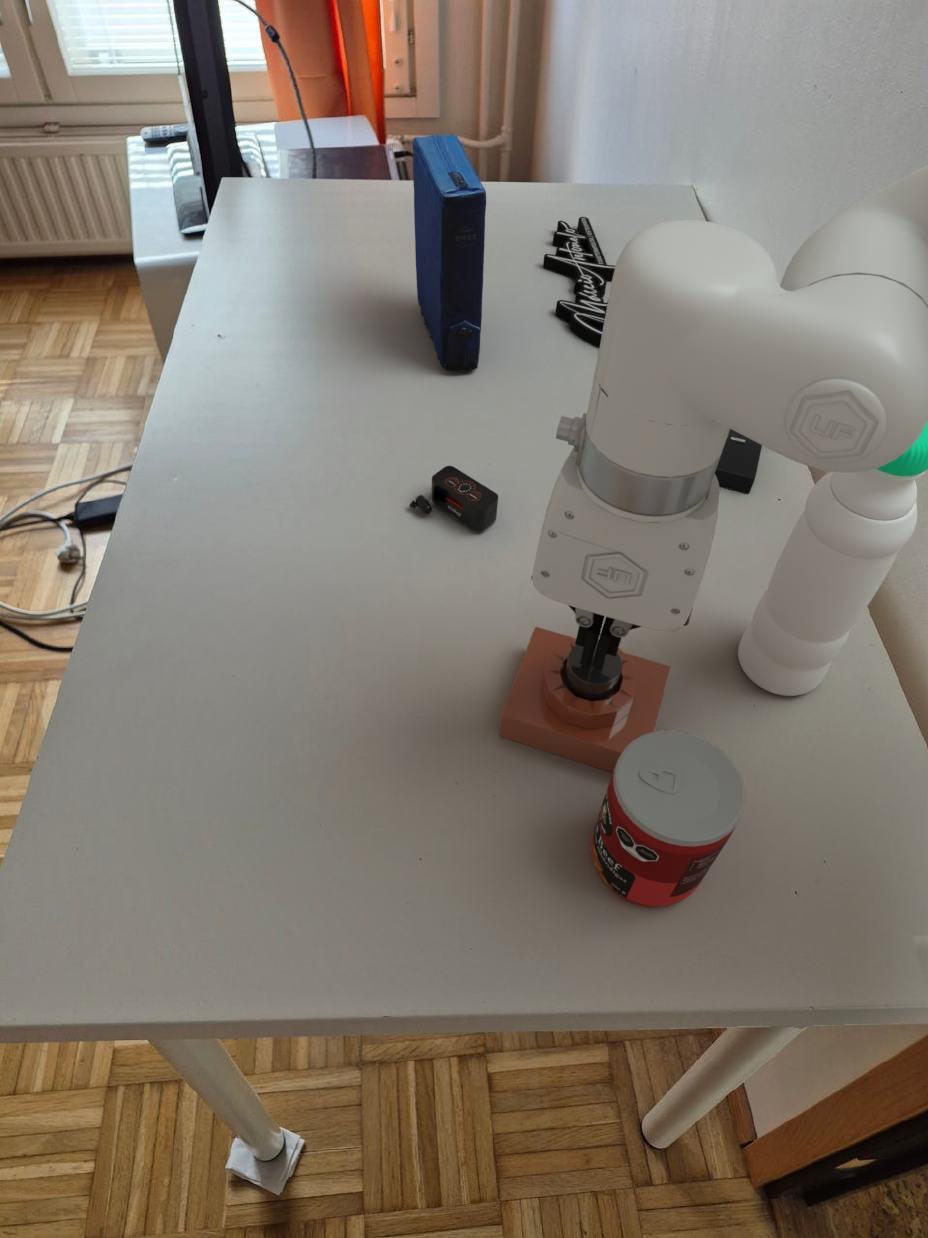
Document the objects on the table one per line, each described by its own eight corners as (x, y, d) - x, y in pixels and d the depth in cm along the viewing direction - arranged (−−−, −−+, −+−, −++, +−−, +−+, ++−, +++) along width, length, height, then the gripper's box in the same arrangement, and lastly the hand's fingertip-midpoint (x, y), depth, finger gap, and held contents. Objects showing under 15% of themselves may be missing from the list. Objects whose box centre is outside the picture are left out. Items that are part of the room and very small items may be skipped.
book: (485, 374, 96) (497, 190, 81) (438, 380, 95) (440, 195, 80) (455, 301, 105) (460, 122, 89) (411, 306, 104) (408, 126, 88)
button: (622, 665, 67) (627, 649, 65) (610, 707, 65) (615, 691, 63) (571, 650, 68) (575, 633, 66) (558, 690, 65) (561, 675, 64)
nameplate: (657, 338, 99) (569, 342, 98) (654, 350, 100) (568, 353, 99) (604, 215, 116) (529, 217, 115) (602, 227, 117) (528, 229, 116)
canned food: (585, 805, 65) (610, 725, 56) (694, 810, 65) (736, 731, 56) (591, 908, 60) (620, 839, 51) (709, 914, 60) (757, 845, 51)
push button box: (662, 687, 71) (676, 650, 67) (638, 781, 66) (651, 746, 62) (531, 648, 73) (537, 610, 69) (498, 736, 68) (503, 700, 64)
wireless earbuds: (442, 485, 85) (442, 459, 83) (498, 521, 82) (501, 496, 80) (408, 510, 83) (408, 484, 80) (465, 548, 80) (467, 523, 78)
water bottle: (788, 715, 70) (929, 479, 51) (718, 659, 73) (825, 418, 54) (838, 668, 73) (990, 430, 54) (769, 617, 76) (888, 374, 57)
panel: (762, 431, 92) (768, 415, 90) (749, 494, 86) (755, 477, 84) (649, 404, 94) (653, 387, 92) (628, 463, 88) (632, 446, 86)
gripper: (499, 465, 48) (480, 661, 63) (773, 538, 46) (688, 725, 60) (537, 386, 53) (511, 586, 67) (790, 449, 50) (706, 643, 65)
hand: (595, 651), depth 64 cm, fingers closed
